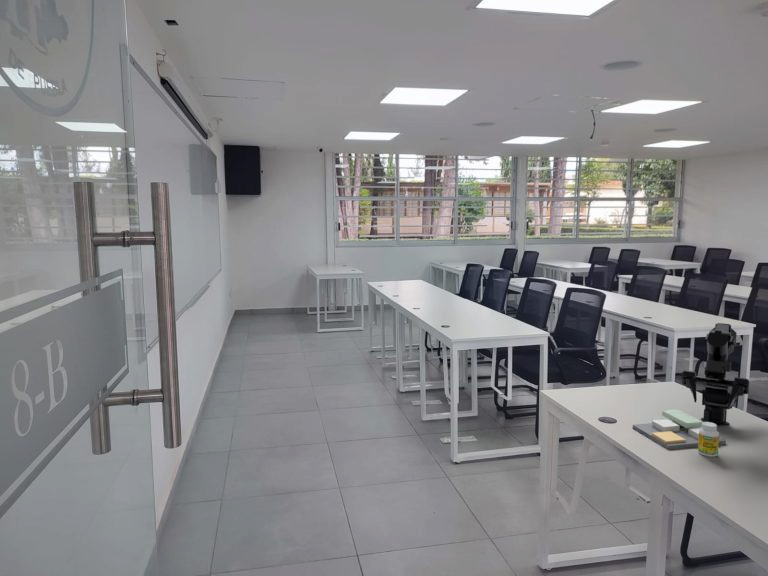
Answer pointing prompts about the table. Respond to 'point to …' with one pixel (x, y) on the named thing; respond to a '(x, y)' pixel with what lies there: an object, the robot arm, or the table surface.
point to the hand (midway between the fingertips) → (711, 404)
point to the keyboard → (671, 434)
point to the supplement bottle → (708, 439)
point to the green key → (682, 418)
